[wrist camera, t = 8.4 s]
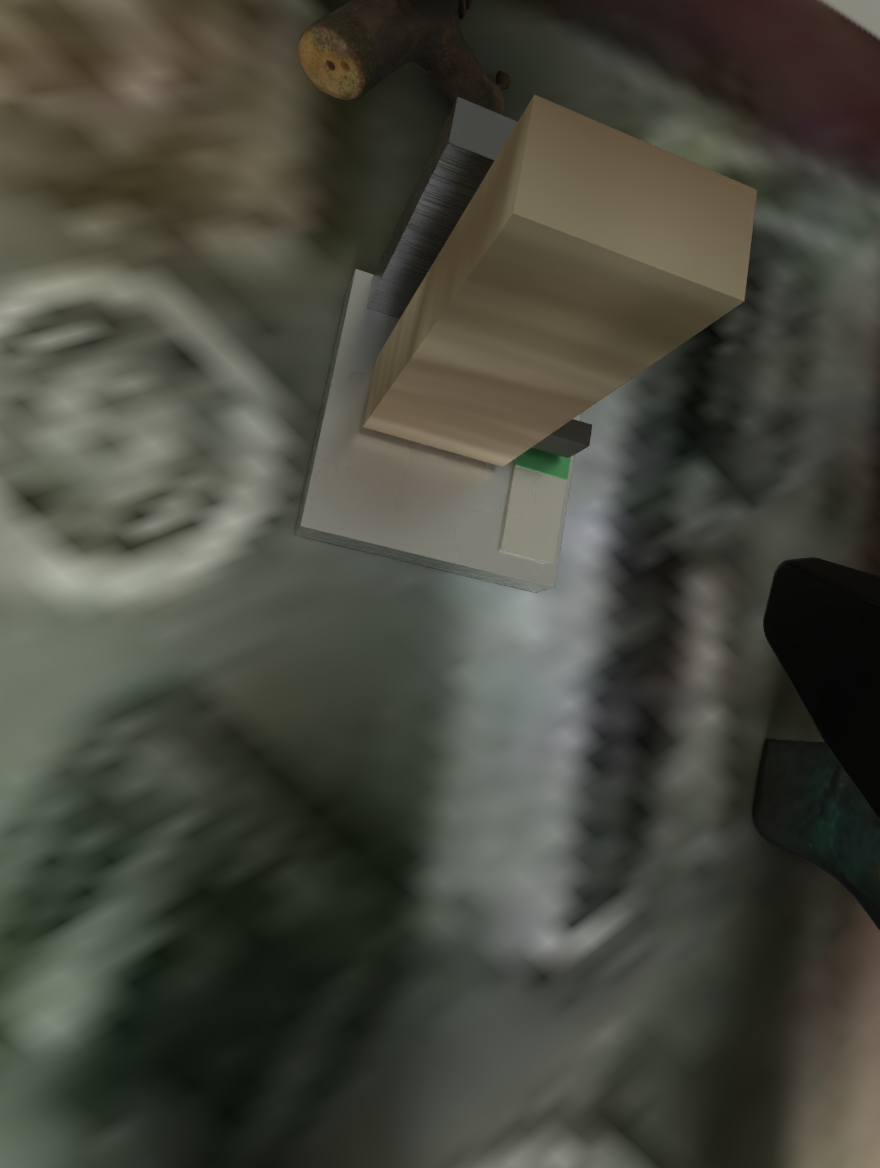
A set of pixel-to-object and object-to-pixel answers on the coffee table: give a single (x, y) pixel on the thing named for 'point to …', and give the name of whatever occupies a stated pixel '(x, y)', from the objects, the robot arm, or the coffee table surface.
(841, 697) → the robot arm
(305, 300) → the coffee table surface
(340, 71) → the bird figurine
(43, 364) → the coffee table surface
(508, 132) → the gauge base
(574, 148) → the light brown wooden block
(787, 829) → the green animal figurine
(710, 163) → the coffee table surface
